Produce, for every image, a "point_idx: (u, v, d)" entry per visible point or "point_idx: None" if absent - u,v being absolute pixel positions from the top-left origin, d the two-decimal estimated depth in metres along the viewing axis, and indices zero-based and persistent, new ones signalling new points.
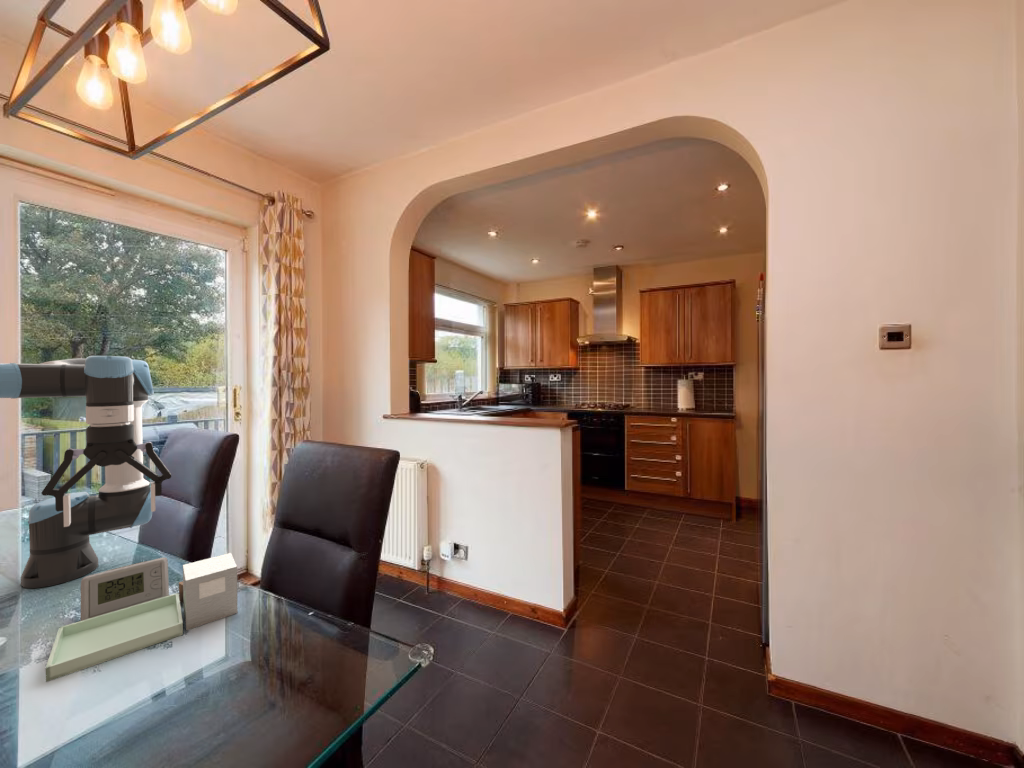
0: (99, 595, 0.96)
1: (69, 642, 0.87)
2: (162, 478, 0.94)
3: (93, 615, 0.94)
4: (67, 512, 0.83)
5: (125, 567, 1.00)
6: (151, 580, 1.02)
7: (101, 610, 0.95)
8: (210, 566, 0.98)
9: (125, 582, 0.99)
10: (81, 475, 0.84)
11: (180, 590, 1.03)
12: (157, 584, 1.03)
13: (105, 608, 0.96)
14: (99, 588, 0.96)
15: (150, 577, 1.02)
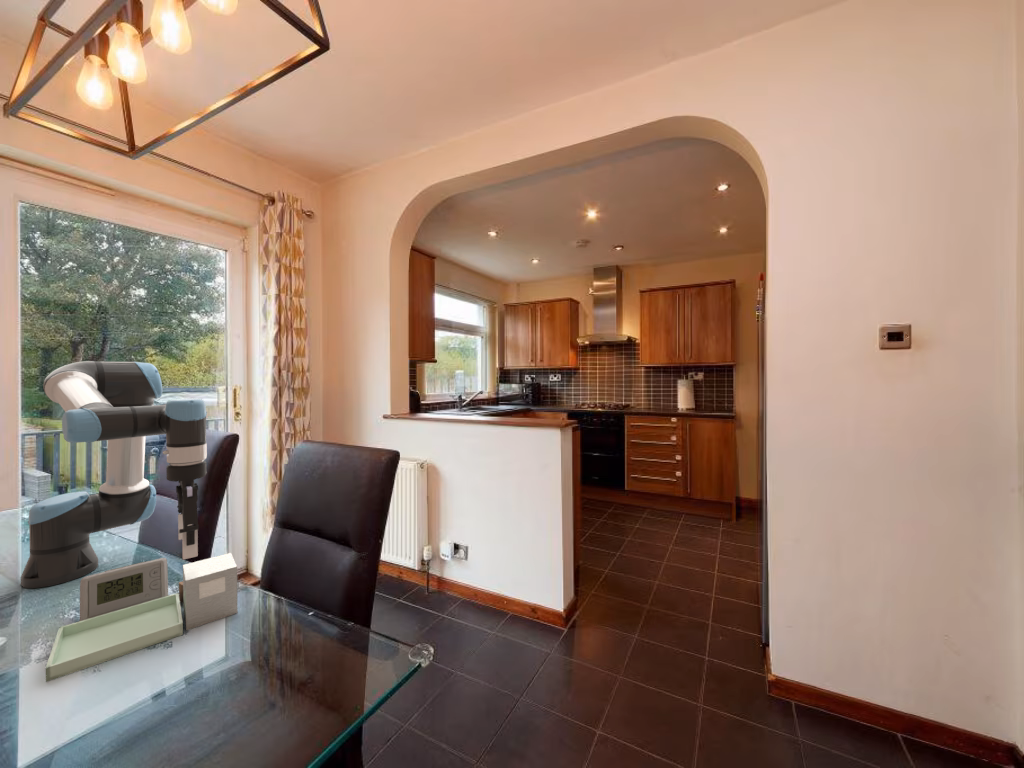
0: (98, 595, 0.96)
1: (69, 642, 0.87)
2: None
3: (92, 615, 0.94)
4: (178, 528, 0.99)
5: (124, 567, 1.00)
6: (150, 580, 1.02)
7: (100, 610, 0.95)
8: (210, 566, 0.98)
9: (125, 582, 0.99)
10: None
11: (180, 590, 1.03)
12: (156, 585, 1.03)
13: (104, 608, 0.95)
14: (98, 588, 0.96)
15: (149, 577, 1.02)
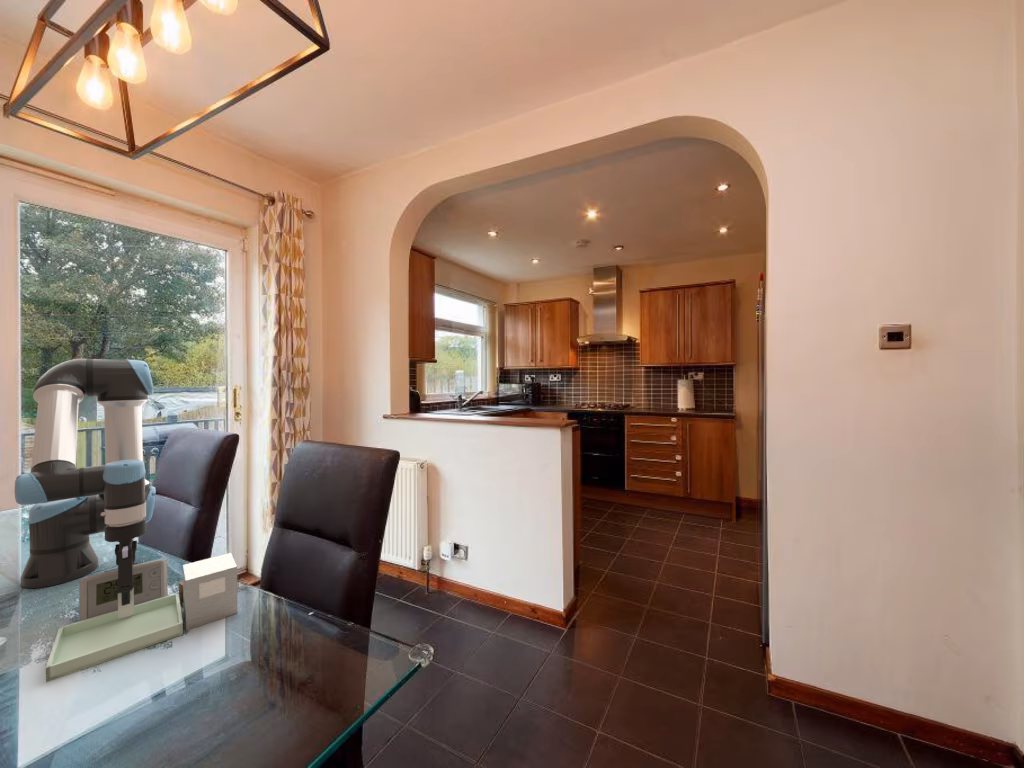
0: (97, 596, 0.95)
1: (69, 642, 0.87)
2: None
3: (91, 616, 0.94)
4: None
5: None
6: (150, 581, 1.02)
7: (99, 611, 0.95)
8: (210, 566, 0.98)
9: None
10: None
11: (180, 590, 1.03)
12: (156, 585, 1.02)
13: (103, 609, 0.95)
14: (97, 589, 0.96)
15: (149, 578, 1.02)
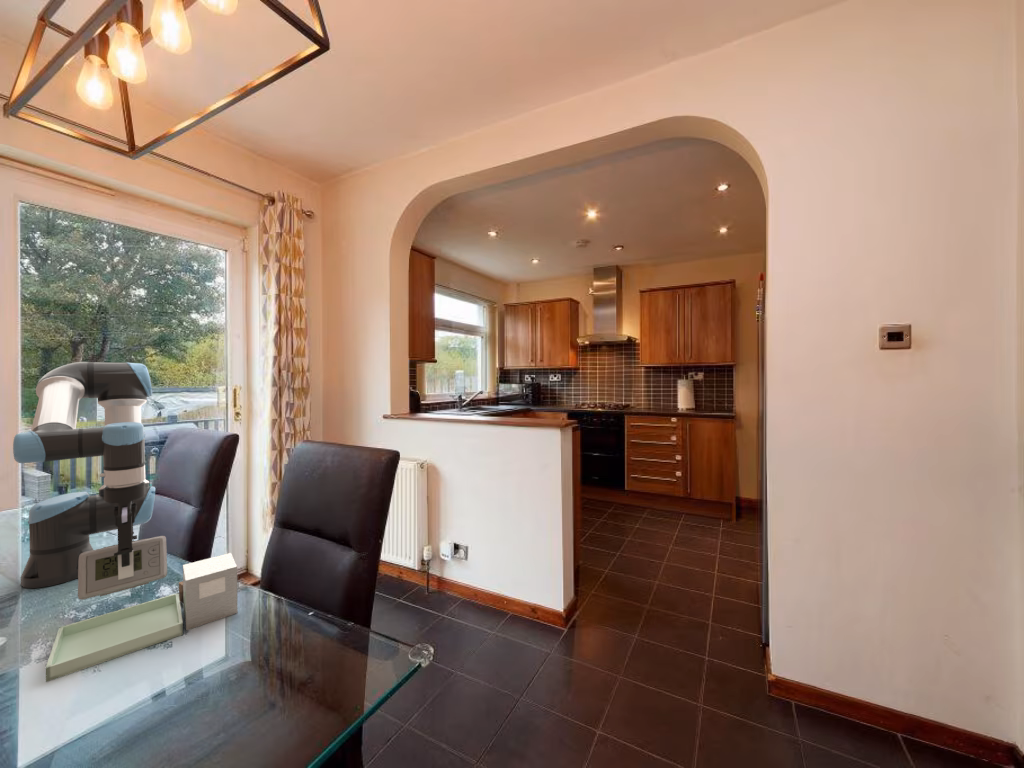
0: (97, 571, 0.95)
1: (69, 642, 0.87)
2: None
3: (90, 591, 0.93)
4: None
5: None
6: (149, 558, 1.01)
7: (98, 586, 0.94)
8: (210, 566, 0.98)
9: None
10: None
11: (180, 590, 1.03)
12: (155, 562, 1.02)
13: (102, 584, 0.95)
14: (97, 564, 0.95)
15: (148, 555, 1.02)
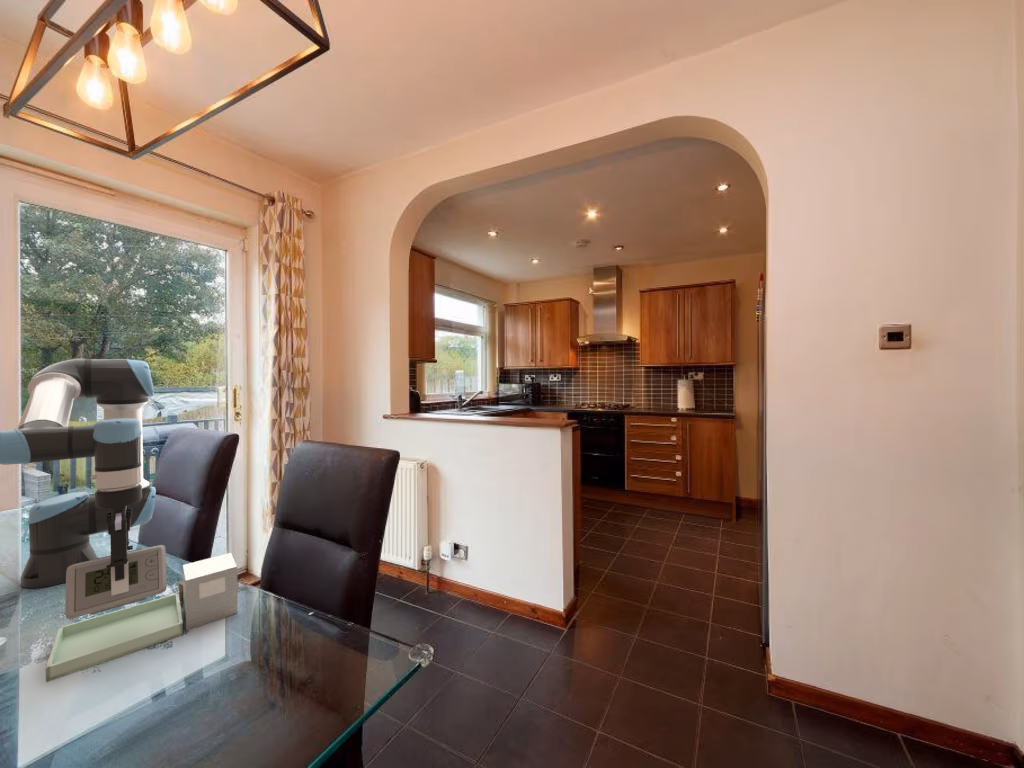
0: (87, 586, 0.84)
1: (69, 642, 0.87)
2: None
3: (79, 609, 0.82)
4: None
5: None
6: (146, 570, 0.90)
7: (89, 603, 0.83)
8: (210, 566, 0.98)
9: None
10: None
11: (180, 590, 1.03)
12: (153, 575, 0.91)
13: (93, 601, 0.84)
14: (87, 578, 0.84)
15: (145, 567, 0.91)
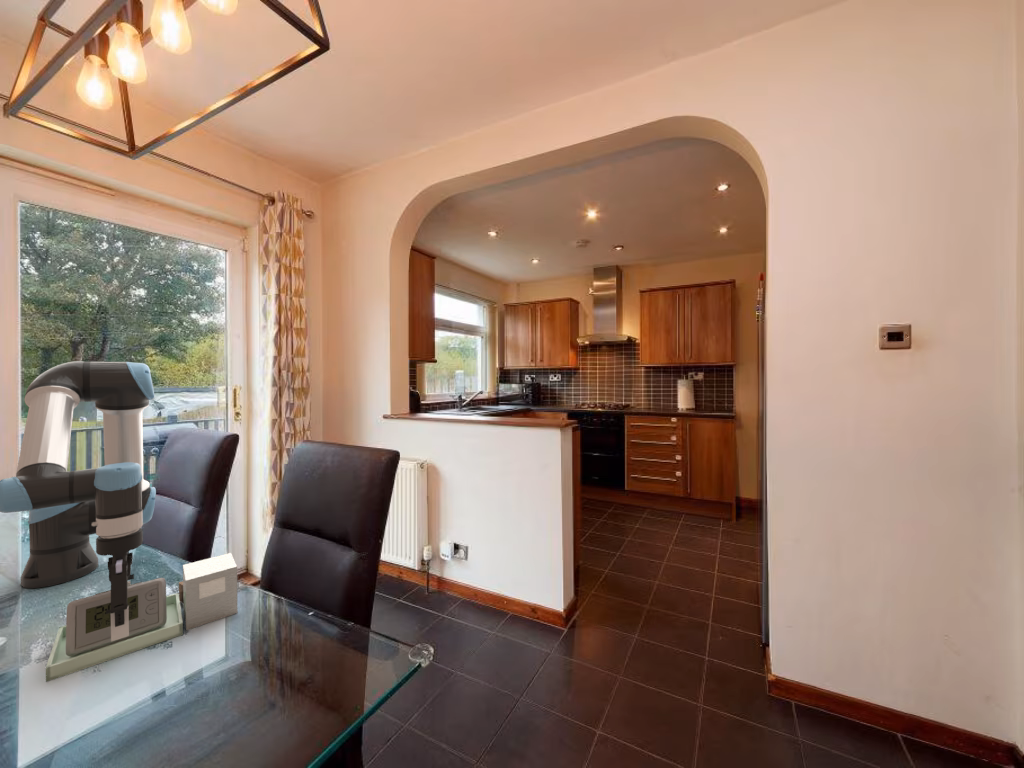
0: (87, 622, 0.84)
1: None
2: None
3: (80, 646, 0.83)
4: None
5: None
6: (147, 604, 0.91)
7: (89, 640, 0.84)
8: (210, 566, 0.98)
9: None
10: None
11: (180, 590, 1.03)
12: (153, 608, 0.91)
13: (94, 637, 0.84)
14: (87, 614, 0.85)
15: (145, 601, 0.91)
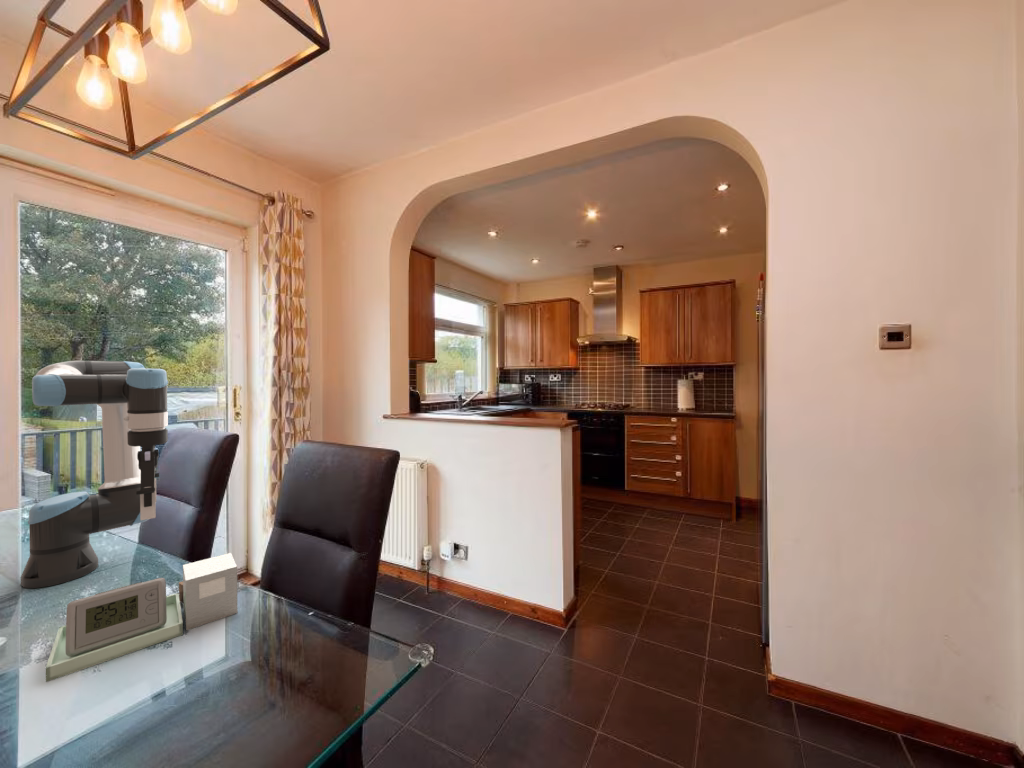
0: (87, 622, 0.84)
1: None
2: None
3: (80, 646, 0.83)
4: None
5: (117, 590, 0.89)
6: (146, 604, 0.91)
7: (89, 640, 0.84)
8: (210, 566, 0.98)
9: (117, 607, 0.88)
10: None
11: (180, 590, 1.03)
12: (153, 609, 0.91)
13: (94, 637, 0.84)
14: (87, 614, 0.85)
15: (145, 601, 0.91)
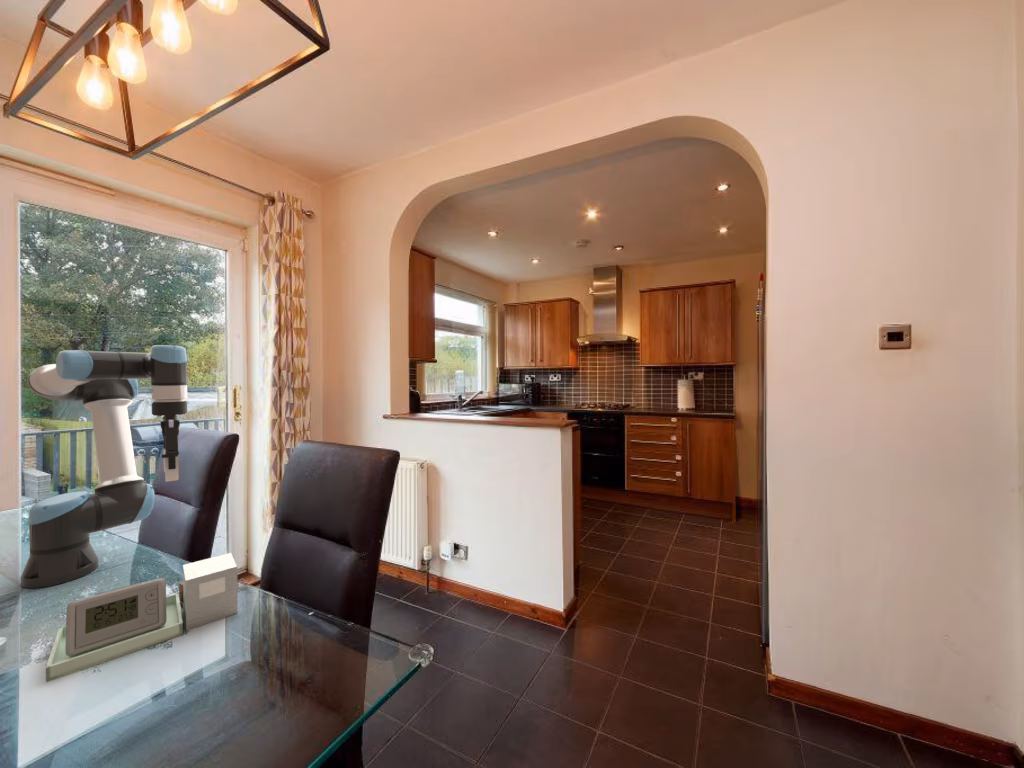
0: (87, 623, 0.84)
1: None
2: None
3: (80, 646, 0.83)
4: None
5: (117, 590, 0.89)
6: (146, 604, 0.91)
7: (89, 640, 0.84)
8: (210, 566, 0.98)
9: (117, 607, 0.88)
10: (164, 436, 1.12)
11: (180, 590, 1.03)
12: (153, 609, 0.91)
13: (93, 638, 0.84)
14: (87, 614, 0.85)
15: (145, 601, 0.91)
